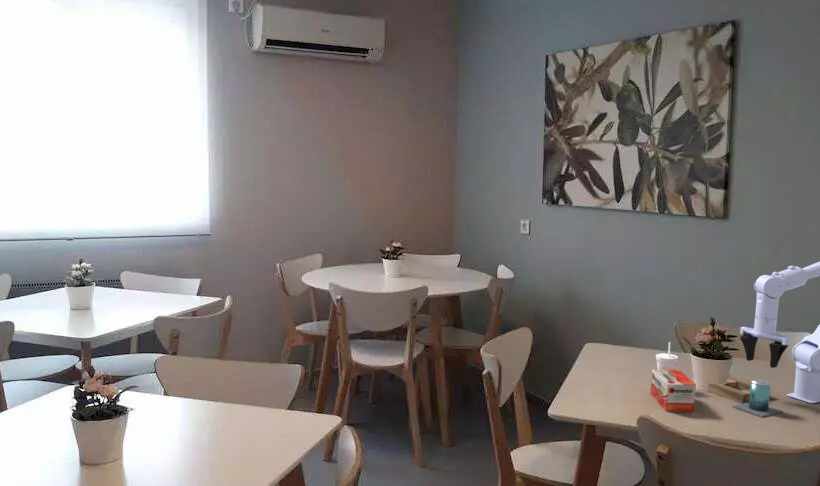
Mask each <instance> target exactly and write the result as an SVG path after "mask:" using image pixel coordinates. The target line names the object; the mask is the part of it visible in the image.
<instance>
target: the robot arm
mask: <svg viewBox="0 0 820 486" xmlns="http://www.w3.org/2000/svg"><path fill="white" fill-rule="evenodd" d="M818 277H820V261H818V262H815V263H812V264H810V265H807V266H805V267H803V268H801V267H799V266H794V265H789V266H787V268H786V269H784V270H780V271H774V272H772V273H771V275H768V274H763V275H760V276H759V277H758V278H757V279H756V281H755V283H753V289H754V290H755V292H756V302H755V303H756V304H755V313H754V325H753V328H752V327H748V326H741V327H740V328H739V329H740V330H739V334H741V335H740V336H739V339H740V340H741V343H742V345H743V348H744V351H745V357H746V361H749V362H750V361H753V360H754V358H755V351H756V346H757V342H758V339H763V340H765V341H770V342H771V343H769V344H768V345H769V346H768V347H769V351H770V361H769V367H770V368H772V369H773V368H777V367H778V365H779V362H780V360H781V357H782V356H783V354H784V352H785V351H786V350H787V348H789V345H790V344H791V343H790V342H791V341H790V340H791V338H790V337H787V336H785V335H782V334H779V333H777V324H778V313H779V312H778V311H779V306H780V305H779V303H780V302H779V301H780V297H782V296H783V294H784V293H785V292H788V291H790V290H793V289H796V288H799V287H803V286H804V285H805V284H806V283H807V281H808V280H811V279H814V278H818ZM791 357H792V358H793V360H794V362H795V365H796V366H795V375H794V378H795V379H794V389H793V392H791V393H787V394H786V396H788V397H790V398H794V399H797V400H799V401H803V402H806V403H809V404H816V403H820V323H819V325H817V327H816V329H815V331H813V333H811V334H807V335H806V336H804V337H803V338H802V340H801V341H800V342H798V343H796V344H795V345H794V346H793V348H792V349H791Z"/></svg>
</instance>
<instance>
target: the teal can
mask: <svg viewBox="0 0 820 486" xmlns="http://www.w3.org/2000/svg"><path fill="white" fill-rule="evenodd" d="M750 383H751V384H750V396H749V408H751V409H753V410H758V411H768V409H769V406H770V398H771V397H770V396H771V381H769V380H764V379H758V378H753V379H751V380H750Z"/></svg>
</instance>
